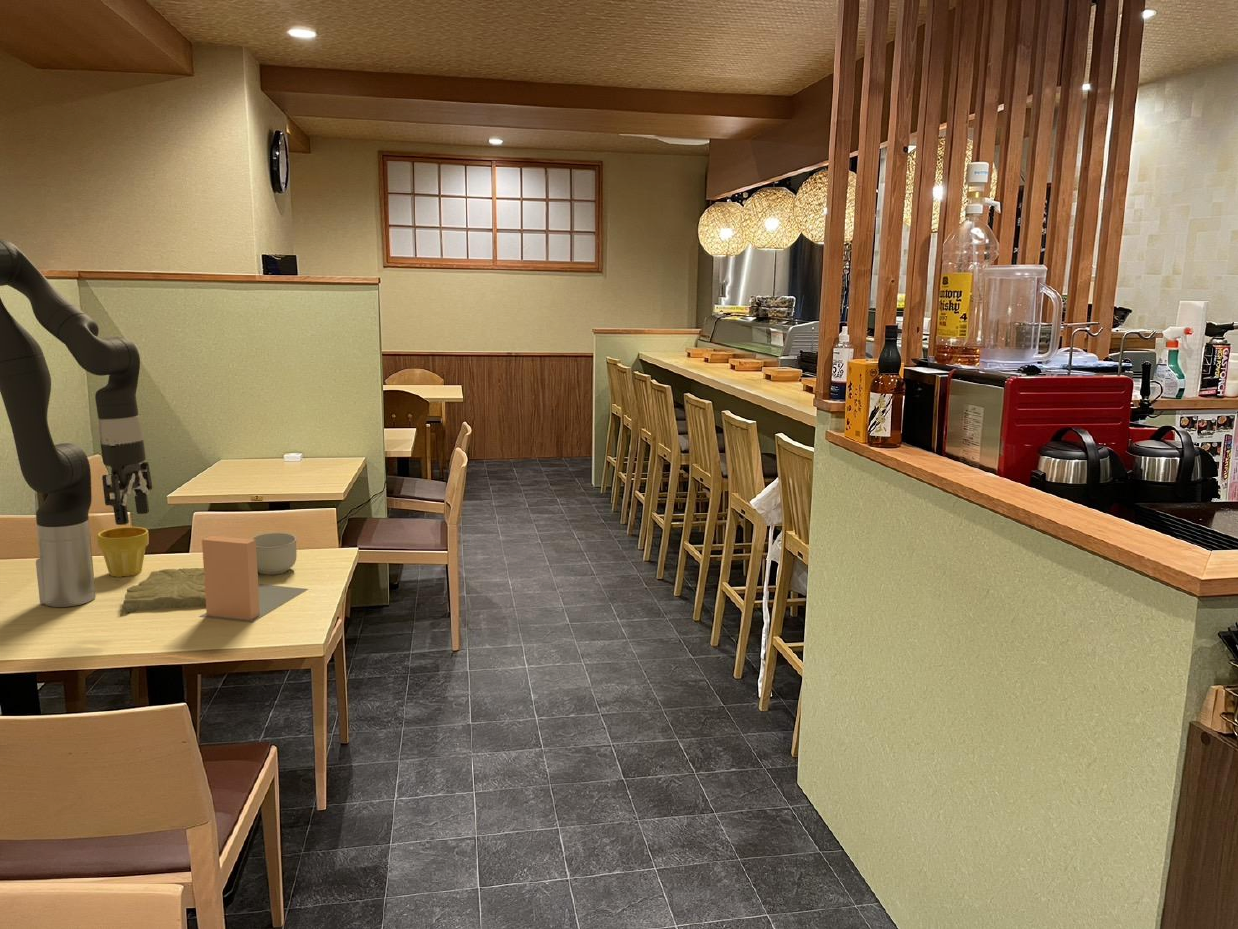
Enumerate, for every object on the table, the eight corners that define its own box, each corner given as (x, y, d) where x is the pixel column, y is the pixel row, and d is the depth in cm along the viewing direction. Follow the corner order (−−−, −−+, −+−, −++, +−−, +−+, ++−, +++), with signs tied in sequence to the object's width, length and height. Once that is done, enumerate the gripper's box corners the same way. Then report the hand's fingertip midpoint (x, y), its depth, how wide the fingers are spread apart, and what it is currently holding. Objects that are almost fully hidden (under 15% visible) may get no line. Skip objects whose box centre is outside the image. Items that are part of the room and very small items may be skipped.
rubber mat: (199, 618, 180) (199, 616, 180) (260, 585, 200) (259, 584, 200) (252, 624, 178) (252, 622, 178) (308, 590, 198) (308, 589, 198)
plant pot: (161, 568, 210) (158, 528, 209) (127, 581, 201) (124, 540, 199) (124, 563, 213) (121, 524, 211) (89, 577, 203) (86, 535, 201)
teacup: (304, 564, 216) (303, 533, 215) (287, 579, 206) (286, 545, 204) (248, 562, 217) (246, 531, 215) (227, 577, 206) (225, 543, 204)
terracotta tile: (206, 615, 181) (201, 539, 178) (216, 610, 184) (211, 535, 181) (251, 620, 179) (246, 543, 176) (260, 614, 182) (256, 539, 179)
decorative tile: (231, 579, 206) (231, 564, 205) (217, 609, 187) (216, 593, 186) (142, 584, 201) (141, 569, 200) (118, 615, 182) (117, 599, 181)
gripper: (120, 434, 183) (131, 511, 186) (82, 446, 169) (95, 529, 172) (157, 433, 183) (167, 509, 186) (123, 445, 169) (134, 527, 172)
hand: (133, 518), depth 179 cm, fingers open, 8 cm apart
